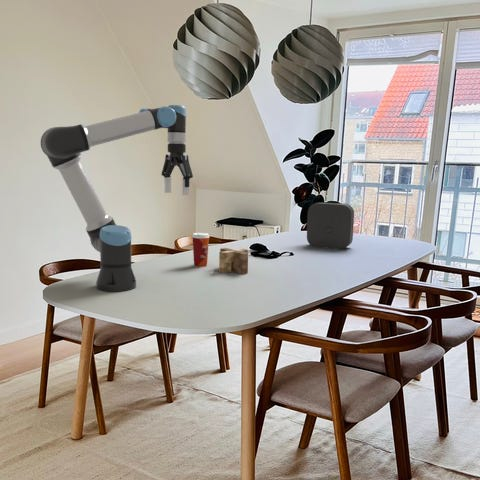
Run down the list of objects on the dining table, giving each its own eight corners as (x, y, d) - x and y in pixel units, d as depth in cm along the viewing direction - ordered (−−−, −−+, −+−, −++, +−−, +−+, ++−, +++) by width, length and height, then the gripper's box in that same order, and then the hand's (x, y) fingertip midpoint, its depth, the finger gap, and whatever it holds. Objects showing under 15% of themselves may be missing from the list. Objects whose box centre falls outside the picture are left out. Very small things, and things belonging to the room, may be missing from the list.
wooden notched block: (247, 273, 237) (248, 253, 236) (242, 274, 236) (242, 253, 234) (225, 266, 249) (225, 247, 248) (220, 267, 248) (220, 248, 246)
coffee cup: (206, 267, 247) (207, 235, 244) (189, 266, 248) (189, 234, 246) (211, 264, 255) (211, 232, 252) (194, 263, 256) (194, 232, 254)
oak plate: (223, 273, 237) (223, 253, 235) (219, 271, 239) (219, 251, 238) (247, 269, 246) (247, 249, 244) (243, 267, 248) (243, 248, 247)
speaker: (352, 247, 306) (354, 204, 302) (349, 250, 298) (351, 205, 294) (309, 244, 315) (311, 201, 311) (305, 246, 308) (307, 202, 303)
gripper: (201, 143, 218) (201, 195, 222) (168, 143, 237) (168, 191, 241) (186, 143, 214) (186, 196, 217) (153, 142, 232) (153, 191, 236)
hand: (176, 193), depth 229 cm, fingers open, 13 cm apart
